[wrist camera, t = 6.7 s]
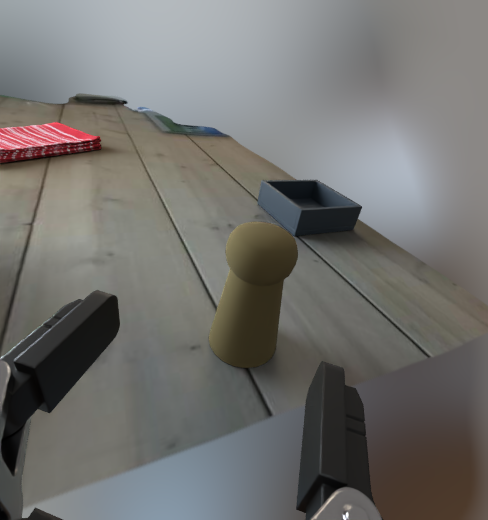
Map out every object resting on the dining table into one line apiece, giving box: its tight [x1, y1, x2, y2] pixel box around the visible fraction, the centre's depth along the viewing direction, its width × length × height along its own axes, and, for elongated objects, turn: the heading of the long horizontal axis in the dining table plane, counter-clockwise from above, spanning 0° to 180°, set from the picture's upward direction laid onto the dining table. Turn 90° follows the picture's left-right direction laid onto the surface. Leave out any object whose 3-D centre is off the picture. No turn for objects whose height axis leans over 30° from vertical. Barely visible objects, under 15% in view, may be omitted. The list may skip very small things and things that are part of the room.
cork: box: [209, 222, 298, 368], centre depth 24 cm, size 6×6×11 cm
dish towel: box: [0, 122, 101, 163], centre depth 60 cm, size 17×24×3 cm
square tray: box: [258, 180, 362, 236], centre depth 51 cm, size 12×12×4 cm
